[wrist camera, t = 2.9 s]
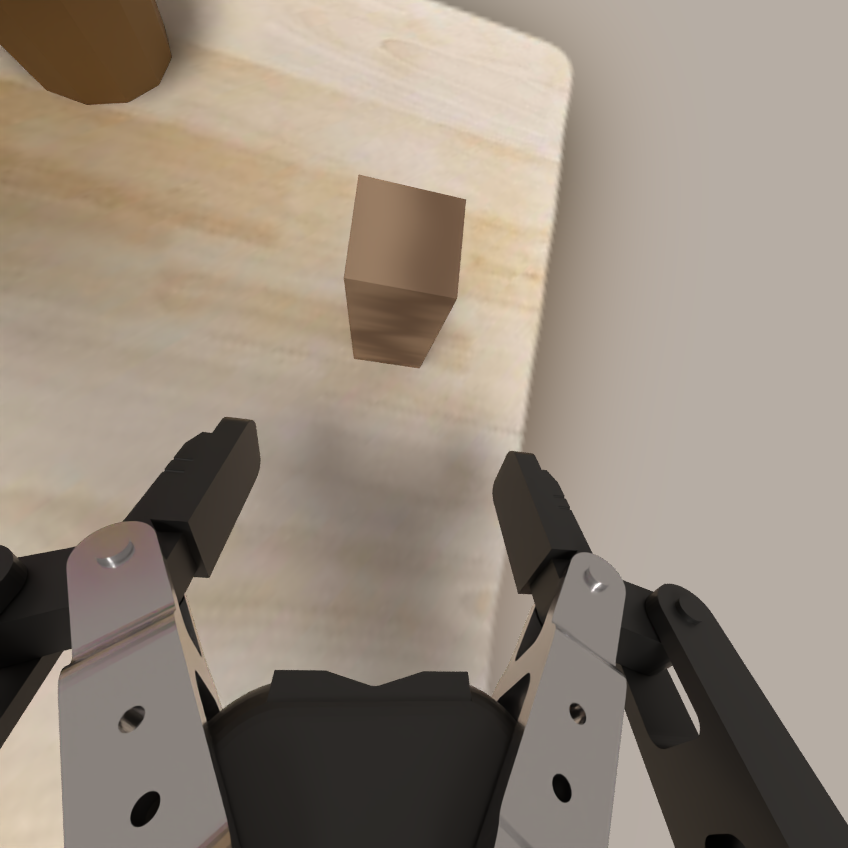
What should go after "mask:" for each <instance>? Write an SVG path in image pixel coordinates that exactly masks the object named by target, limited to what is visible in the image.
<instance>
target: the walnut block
mask: <svg viewBox="0 0 848 848" xmlns="http://www.w3.org/2000/svg"><path fill="white" fill-rule="evenodd" d="M465 205H466V199H461V198H457V197H453V196H448V195H444V194H440V193H436V192H431V191H427V190H423V189H418V188H414V187H410V186H405V185H401V184H397V183H392V182H388V181H384V180H379V179H375V178H371V177H366V176H362V175H359V176H358V183H357V190H356V197H355V204H354V211H353V218H352V225H351V232H350V239H349V246H348V253H347V260H346V267H345V274H344V283H345V291H346V299H347V307H348V315H349V323H350V331H351V339H352V347H353V355H354V359H360V360H367V361H374V362H381V363H387V364H394V365H401V366H408V367H414V368H420V366H421V364H422V363H423V361H424V359H425V357H426V355H427V353H428V351H429V350H430V348H431V346H432V344H433V342H434V340H435V338H436V337H437V335H438V333H439V331H440V329H441V327H442V325H443V324H444V322H445V320H446V318H447V316H448V314H449V312H450V311H451V309H452V307H453V305H454V303H455V301H456V299H457V293H458V282H459V271H460V260H461V249H462V238H463V227H464V216H465Z"/></svg>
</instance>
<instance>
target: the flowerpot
mask: <svg viewBox="0 0 848 848" xmlns="http://www.w3.org/2000/svg"><path fill="white" fill-rule="evenodd" d="M0 45H1V46H2V47H3V48H4V49H5V50H6V51H7V52H8V53H9V54H11V55H12V56H13V57H14V58H15V59H16V60H17V61H18V62H19V63H20V64H21V65H22V66H23V67H24V68H25V69H26V70H27V71H28V72H29V73H30V74H31V75H32V76H33V77H34V78H35V79H36V80H37V81H38V82H39V83H40V84H41V85H42V86H43V87H44V88H45V89H46V90H47V91H50V92H53V93H56V94H59V95H61V96H64V97H67V98H70V99H73V100H75V101H78V102H81V103H84V104H87V105H91V104H109V103H127V102H130V101H132V100H133V99H135V98H137V97H139V96H140V95H142V94H144V93H146V92H147V91H149V90H151V89H153V88H154V87H156V86H158V85H159V84H160V82H161V80H162V77H163V75H164V73H165V71H166V69H167V67H168V64H169V62H170V60H171V58H172V56H171V52H170V48H169V43H168V39H167V35H166V31H165V27H164V24H163V21H162V19H161V16H160V13H159V10H158V7H157V4H156V2H155V0H0Z"/></svg>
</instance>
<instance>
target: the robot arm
mask: <svg viewBox="0 0 848 848" xmlns="http://www.w3.org/2000/svg"><path fill="white" fill-rule="evenodd" d="M259 469H260V451H259V444H258V437H257V430H256V424H255V422H254V420H248V419H240V418H231V417H224V418H223V419H222V420H221V421H220V423H219V424H218V426H217V427H216V428H215V430H214V431H213V433H207V432H202V433H200V434H199V435H197V436H195V437H194V438H192V439H191V440H189V441H188V442H186V443H185V444H184V445H183V446H182V448H181V449H180V450H179V451H178V453H177V454H176V455H175V457H174V460H171V462H170V463H169V464H168V465H167V467H166V468H165V471H164V472H162V473H161V474H160V475H159V477H158V478H157V479H156V480H155V482H154V483H153V484H152V486H151V487H150V488H149V489H148V491H147V492H146V493H145V494H144V496H143V497H142V498H141V499H140V501H139V502H138V503H137V504H136V506H135V507H134V508H133V510H132V511H131V512H130V513H129V515H128V516H127V517H126V518H125V519H124V520H123V522H120V523H116V524H112V525H109V526H107V527H104V528H102V529H100V530H98V531H96V532H94V533H92V534H91V535H89V536H88V537H86V538H85V539H84V540H83V541H81V542H80V543H79V544H78V545H77V546H76V547H72V548H67V549H61V550H56V551H51V552H45V553H40V554H34V555H29V556H24V557H18V558H17V557H16V556H15V555H14V554H13V553H12V552H11V551H10V550H9V549H8V548H6V547H5V546H2V545H0V749H1V747H2V745H3V744H4V742H5V741H6V739H7V738H8V736H9V735H10V733H11V731H12V730H13V728H14V727H15V725H16V724H17V722H18V721H19V719H20V717H21V716H22V714H23V713H24V711H25V710H26V708H27V706H28V705H29V703H30V702H31V700H32V699H33V697H34V696H35V694H36V692H37V691H38V689H39V688H40V686H41V685H42V683H43V682H44V680H45V678H46V677H47V675H48V674H49V672H50V671H51V669H52V668H53V666H54V664H55V663H56V661H57V660H58V658H59V657H60V655H61V654H62V652H63V651H64V650H68V649H72V660H71V663H70V664H69V665H67V666H65V667H64V668H63V669H62V671H61V673H60V676H59V680H58V707H59V732H60V756H61V780H62V805H63V829H64V848H608V843H609V833H610V825H611V817H612V808H613V800H614V792H615V783H616V775H617V766H618V757H619V749H620V741H621V732H622V724H623V715H624V709H625V711H626V714H627V717H628V720H629V722H630V725H631V728H632V730H633V733H634V736H635V739H636V741H637V744H638V747H639V750H640V752H641V755H642V758H643V761H644V764H645V766H646V769H647V772H648V774H649V777H650V780H651V783H652V785H653V788H654V791H655V794H656V796H657V799H658V802H659V805H660V807H661V810H662V813H663V816H664V818H665V821H666V824H667V826H668V829H669V832H670V835H671V838H672V840H673V843H674V846H675V848H848V825H847V823H846V821H845V820H844V818H843V817H842V815H841V814H840V812H839V811H838V809H837V808H836V806H835V804H834V803H833V801H832V800H831V798H830V796H829V795H828V793H827V792H826V790H825V789H824V787H823V786H822V784H821V782H820V781H819V779H818V778H817V776H816V775H815V773H814V772H813V770H812V768H811V767H810V765H809V764H808V762H807V761H806V759H805V757H804V756H803V755H802V753H801V751H800V750H799V748H798V747H797V745H796V744H795V742H794V740H793V739H792V737H791V736H790V734H789V733H788V731H787V729H786V728H785V726H784V725H783V723H782V722H781V720H780V719H779V717H778V715H777V714H776V712H775V711H774V709H773V708H772V706H771V705H770V703H769V701H768V700H767V698H766V697H765V695H764V694H763V692H762V690H761V689H760V687H759V686H758V684H757V683H756V681H755V680H754V678H753V677H752V675H751V673H750V672H749V670H748V669H747V667H746V666H745V664H744V663H743V661H742V659H741V658H740V656H739V655H738V653H737V652H736V650H735V649H734V647H733V645H732V644H731V642H730V641H729V639H728V637H727V636H726V634H725V633H724V631H723V630H722V628H721V627H720V625H719V623H718V622H717V621H716V619H715V617H714V616H713V614H712V613H711V611H710V610H709V609H708V608H707V606H706V605H705V604H704V603H703V602H702V601H701V600H700V599H699V598H698V597H696V596H695V595H694V594H693V593H691V592H690V591H688V590H686V589H684V588H683V587H681V586H678V585H674V584H664V585H662V586H661V587H659V588H658V589H657V590H655V591H654V592H653V591H650V590H647V589H644V588H642V587H639V586H636V585H634V584H631V583H629V582H626V581H624V580H622V579H621V577H620V575H619V573H618V572H617V571H616V570H615V569H614V567H613V566H612V565H611V564H609V563H608V562H607V561H606V560H604V559H603V558H601V557H599V556H597V555H594V554H593V553H592V551H591V549H590V547H589V545H588V543H587V541H586V539H585V537H584V535H583V533H582V531H581V529H580V527H579V525H578V523H577V521H576V519H575V517H574V515H573V513H572V511H571V510H570V506H569V504H568V502H567V500H566V499H564V494H563V492H562V490H561V488H560V486H559V484H558V482H557V481H556V480H555V479H554V478H553V477H552V476H551V475H550V474H549V472H547V470H541V468H540V465H539V463H538V461H537V459H536V457H535V455H534V454H532V453H525V452H516V451H510V452H508V454H507V455H506V458H505V460H504V462H503V464H502V466H501V468H500V470H499V473H498V475H497V477H496V479H495V481H494V484H493V492H492V494H493V501H494V505H495V509H496V513H497V516H498V520H499V524H500V528H501V531H502V535H503V539H504V542H505V546H506V550H507V554H508V557H509V561H510V565H511V569H512V572H513V576H514V580H515V583H516V587H517V591H518V594H532V596H533V599H534V602H535V603H534V604H533V606H532V607H531V610H530V612H529V614H528V617H527V620H526V622H525V624H524V627H523V629H522V632H521V634H520V637H519V639H518V642H517V645H516V647H515V650H514V652H513V655H512V657H511V660H510V662H509V664H508V666H507V668H506V670H505V672H504V674H503V675H502V677H501V678H500V680H499V682H498V684H497V686H496V688H495V690H494V692H493V694H492V696H491V697H490V696H489V695H487V694H486V693H485V692H483V691H481V690H479V689H477V688H475V687H473V686H470V685H469V677H468V672H436V671H423V672H420V673H417V674H414V675H411V676H408V677H405V678H401V679H398V680H395V681H392V682H389V683H386V684H383V685H380V686H370V685H367V684H364V683H361V682H358V681H355V680H352V679H349V678H346V677H343V676H340V675H337V674H334V673H331V672H328V671H315V670H275V671H274V675H273V679H272V683H271V684H268V685H265V686H262V687H260V688H257V689H255V690H253V691H251V692H248V693H247V694H245V695H243V696H242V697H240V698H238V699H236V700H235V701H233V702H232V703H231V704H229V705H228V706H226V707H225V708H224V709H222V706H221V703H220V700H219V696H218V693H217V690H216V687H215V684H214V681H213V679H212V676H211V673H210V671H209V668H208V666H207V663H206V660H205V657H204V653H203V650H202V647H201V643H200V640H199V636H198V633H197V630H196V626H195V623H194V620H193V616H192V613H191V609H190V606H189V603H188V599H187V596H186V593H185V592H186V590H187V588H188V586H189V584H190V582H191V580H192V578H193V577H205V578H209V577H210V575H211V573H212V571H213V569H214V567H215V565H216V563H217V560H218V558H219V556H220V554H221V552H222V550H223V548H224V546H225V544H226V541H227V539H228V537H229V535H230V533H231V531H232V529H233V527H234V525H235V522H236V520H237V518H238V516H239V514H240V512H241V510H242V508H243V506H244V503H245V501H246V499H247V497H248V495H249V493H250V491H251V489H252V487H253V484H254V482H255V480H256V478H257V476H258V473H259ZM671 666H673V667H674V669H675V671H676V673H677V675H678V677H679V679H680V681H681V683H682V685H683V687H684V689H685V691H686V693H687V695H688V697H689V699H690V702H691V704H692V706H693V708H694V710H695V712H696V714H697V716H698V719H699V723H700V734H699V735H698V732H697V730H696V728H695V726H694V724H693V722H692V720H691V718H690V716H689V714H688V712H687V710H686V708H685V705H684V703H683V701H682V699H681V697H680V695H679V693H678V691H677V689H676V687H675V684H674V682H673V680H672V678H671V676H670V674H669V672H668V670H667V668H669V667H671Z"/></svg>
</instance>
